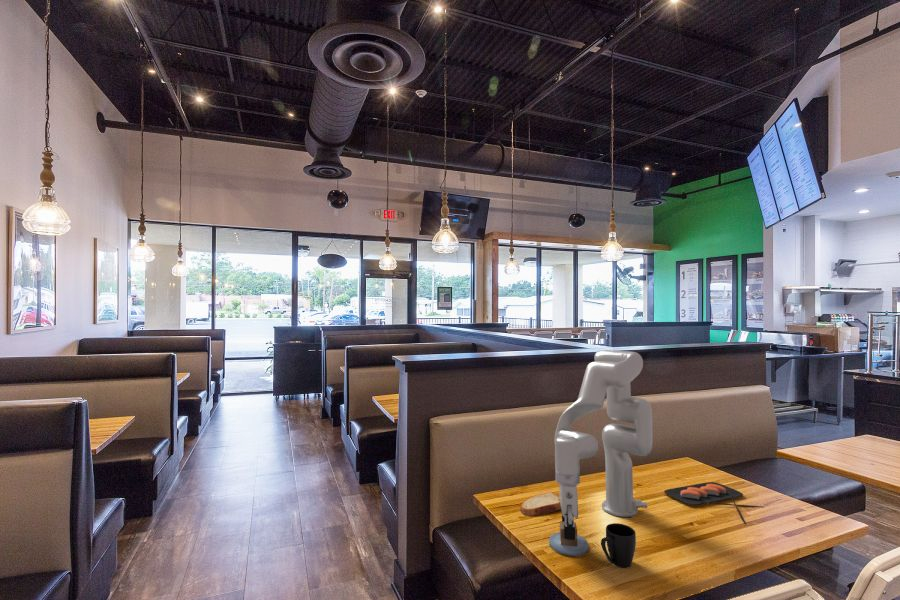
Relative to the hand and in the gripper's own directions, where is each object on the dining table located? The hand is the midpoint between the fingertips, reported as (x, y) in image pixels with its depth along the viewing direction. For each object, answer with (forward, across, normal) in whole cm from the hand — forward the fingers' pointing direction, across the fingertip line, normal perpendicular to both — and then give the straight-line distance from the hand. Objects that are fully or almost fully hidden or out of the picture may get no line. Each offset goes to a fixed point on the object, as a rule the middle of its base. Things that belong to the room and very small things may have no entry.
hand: (568, 531), depth 136 cm
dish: (+4, 0, 0) cm, 4 cm away
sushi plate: (+5, +41, -60) cm, 73 cm away
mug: (+5, -8, -13) cm, 16 cm away
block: (+3, 0, 0) cm, 3 cm away
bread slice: (+5, +26, +6) cm, 27 cm away
